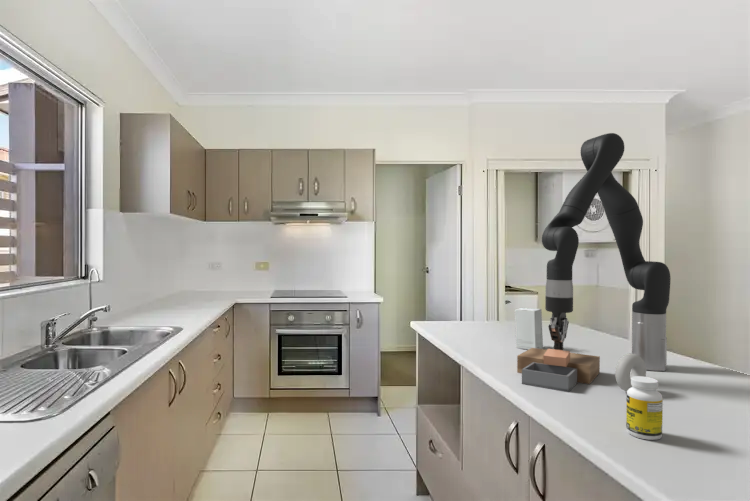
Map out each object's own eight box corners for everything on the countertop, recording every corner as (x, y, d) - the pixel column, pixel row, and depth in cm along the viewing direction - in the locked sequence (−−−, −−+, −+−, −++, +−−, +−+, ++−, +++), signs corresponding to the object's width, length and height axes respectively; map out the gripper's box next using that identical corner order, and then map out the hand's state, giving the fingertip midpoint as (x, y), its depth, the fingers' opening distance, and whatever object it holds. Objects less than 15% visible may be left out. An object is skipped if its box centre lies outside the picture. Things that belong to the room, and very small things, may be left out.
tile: (570, 359, 132) (570, 351, 132) (566, 366, 127) (566, 358, 127) (548, 356, 135) (548, 348, 135) (543, 364, 130) (543, 355, 130)
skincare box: (543, 349, 171) (543, 309, 171) (535, 351, 167) (535, 310, 167) (522, 345, 177) (522, 306, 177) (514, 348, 173) (514, 308, 173)
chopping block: (599, 373, 138) (599, 356, 138) (589, 384, 126) (589, 365, 126) (531, 363, 149) (532, 347, 149) (517, 372, 138) (517, 355, 138)
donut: (624, 396, 116) (624, 356, 116) (612, 392, 119) (612, 353, 119) (649, 391, 120) (649, 352, 120) (636, 387, 123) (636, 350, 123)
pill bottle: (619, 429, 95) (619, 375, 95) (647, 428, 95) (648, 374, 95) (639, 441, 88) (640, 383, 88) (669, 440, 89) (670, 383, 89)
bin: (577, 383, 127) (577, 368, 127) (568, 392, 119) (568, 376, 119) (533, 375, 134) (533, 362, 134) (521, 383, 126) (521, 369, 126)
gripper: (566, 297, 127) (566, 360, 127) (578, 294, 138) (577, 352, 138) (539, 296, 132) (538, 356, 132) (552, 292, 142) (551, 349, 143)
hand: (558, 354), depth 135 cm, fingers closed
